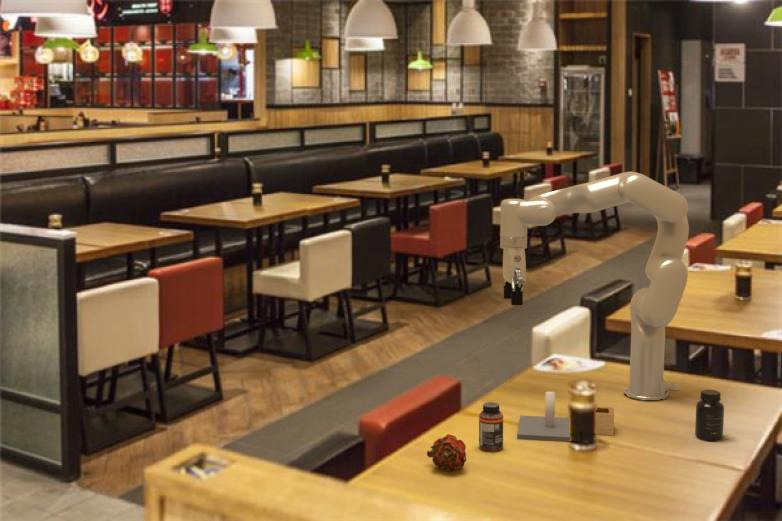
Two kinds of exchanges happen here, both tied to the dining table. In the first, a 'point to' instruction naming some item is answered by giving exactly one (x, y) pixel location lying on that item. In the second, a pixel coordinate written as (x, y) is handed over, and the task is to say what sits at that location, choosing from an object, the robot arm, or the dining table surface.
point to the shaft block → (544, 424)
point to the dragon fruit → (448, 453)
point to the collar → (605, 421)
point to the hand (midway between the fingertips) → (513, 301)
